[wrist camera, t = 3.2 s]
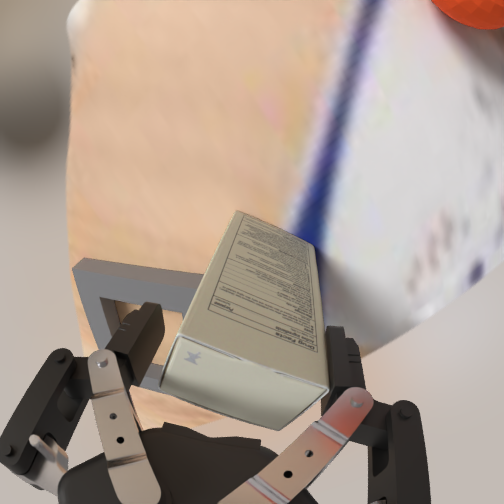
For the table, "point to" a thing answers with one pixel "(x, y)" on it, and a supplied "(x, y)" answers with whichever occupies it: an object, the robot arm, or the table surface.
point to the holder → (130, 297)
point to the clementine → (474, 12)
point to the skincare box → (253, 330)
